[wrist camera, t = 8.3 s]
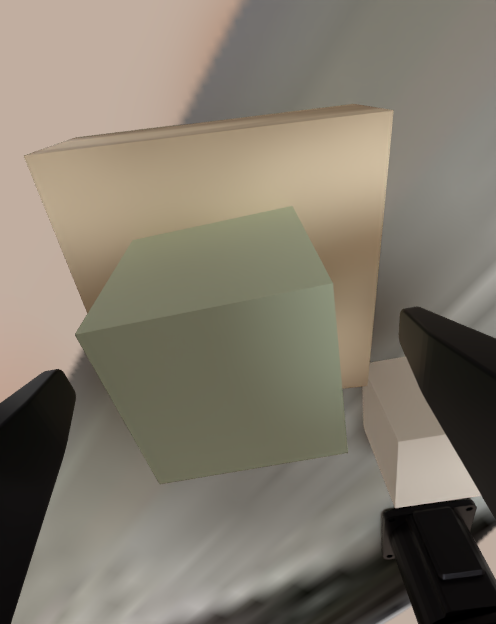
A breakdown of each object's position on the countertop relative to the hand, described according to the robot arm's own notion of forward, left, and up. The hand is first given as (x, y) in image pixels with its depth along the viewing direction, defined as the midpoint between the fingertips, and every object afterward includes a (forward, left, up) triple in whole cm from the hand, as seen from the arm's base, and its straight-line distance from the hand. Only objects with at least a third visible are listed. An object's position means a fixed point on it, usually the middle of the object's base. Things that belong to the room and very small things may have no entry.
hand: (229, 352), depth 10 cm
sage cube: (0, 0, -3) cm, 3 cm away
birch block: (0, 0, -7) cm, 7 cm away
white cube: (-10, -8, -7) cm, 15 cm away
